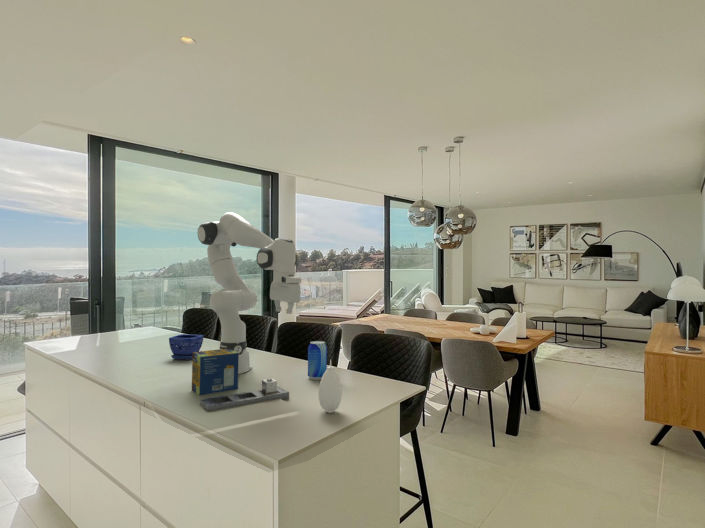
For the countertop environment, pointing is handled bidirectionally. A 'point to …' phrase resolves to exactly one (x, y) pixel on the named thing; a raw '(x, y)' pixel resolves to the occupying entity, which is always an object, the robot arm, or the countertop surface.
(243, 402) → the grey compartment tray
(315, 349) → the beer can
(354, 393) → the countertop surface
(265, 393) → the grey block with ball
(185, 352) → the flower pot
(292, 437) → the countertop surface
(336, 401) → the white teardrop vase
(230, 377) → the protein box
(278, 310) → the robot arm
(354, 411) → the countertop surface
